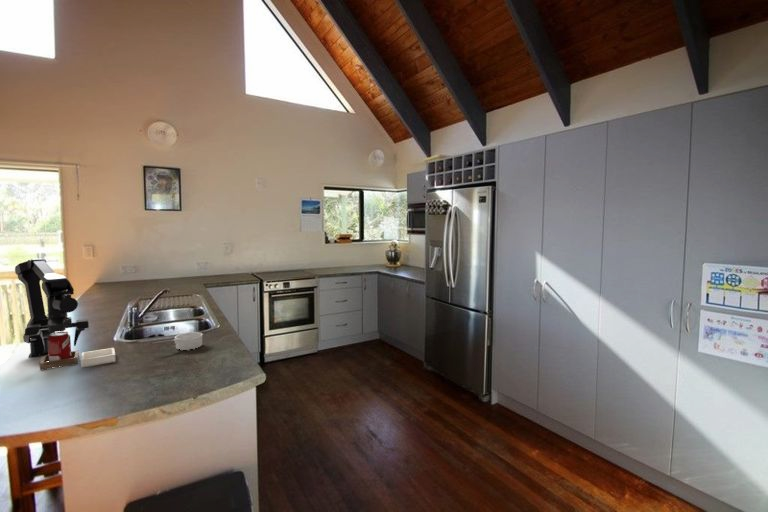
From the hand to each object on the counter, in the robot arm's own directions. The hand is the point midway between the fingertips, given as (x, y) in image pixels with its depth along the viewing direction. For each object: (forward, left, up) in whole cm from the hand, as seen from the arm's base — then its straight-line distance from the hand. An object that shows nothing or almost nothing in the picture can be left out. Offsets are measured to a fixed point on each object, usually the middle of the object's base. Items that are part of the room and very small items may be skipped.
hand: (59, 348), depth 146 cm
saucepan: (+10, +40, -6) cm, 42 cm away
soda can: (0, 0, -6) cm, 6 cm away
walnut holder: (0, 0, -6) cm, 6 cm away
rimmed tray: (+6, +12, -6) cm, 15 cm away
